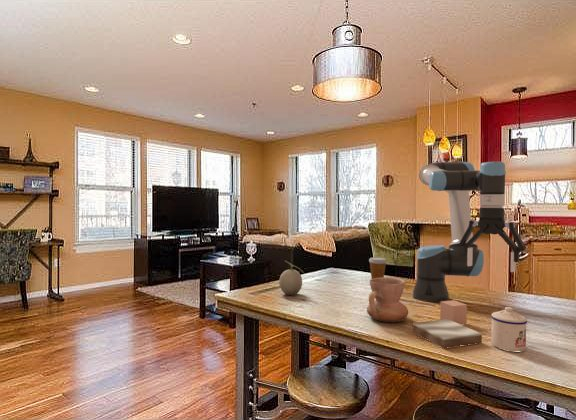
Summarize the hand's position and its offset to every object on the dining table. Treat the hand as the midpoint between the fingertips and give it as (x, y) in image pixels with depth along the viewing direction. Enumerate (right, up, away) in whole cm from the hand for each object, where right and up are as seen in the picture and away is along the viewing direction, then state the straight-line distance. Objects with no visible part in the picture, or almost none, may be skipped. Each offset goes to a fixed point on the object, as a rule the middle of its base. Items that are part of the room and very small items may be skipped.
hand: (490, 268), depth 123 cm
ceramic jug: (-34, -20, +7) cm, 40 cm away
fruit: (-68, -19, +41) cm, 82 cm away
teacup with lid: (-4, -20, -17) cm, 27 cm away
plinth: (-20, -20, -11) cm, 31 cm away
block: (-11, -20, +3) cm, 23 cm away
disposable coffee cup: (-21, -19, +73) cm, 78 cm away
